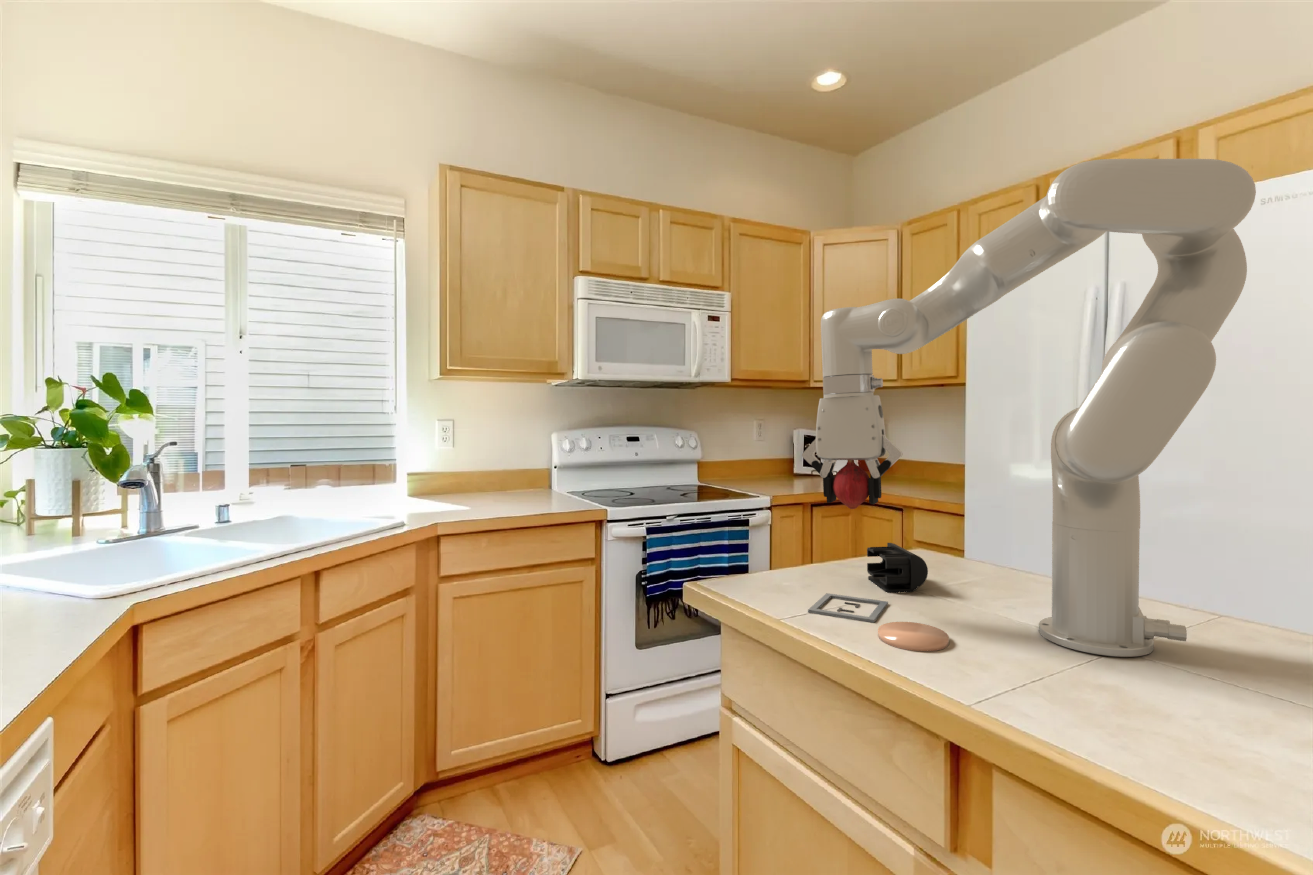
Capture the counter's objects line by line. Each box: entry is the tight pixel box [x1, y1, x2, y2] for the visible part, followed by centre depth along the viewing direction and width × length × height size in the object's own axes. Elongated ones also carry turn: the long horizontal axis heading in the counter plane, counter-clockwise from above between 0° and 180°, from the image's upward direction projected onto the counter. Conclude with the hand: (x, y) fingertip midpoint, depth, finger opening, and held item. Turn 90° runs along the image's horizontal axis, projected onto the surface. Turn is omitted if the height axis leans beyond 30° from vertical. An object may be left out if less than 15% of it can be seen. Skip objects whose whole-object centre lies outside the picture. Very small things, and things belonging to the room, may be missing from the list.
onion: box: [833, 460, 870, 510], centre depth 97 cm, size 6×6×8 cm
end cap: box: [866, 542, 929, 594], centre depth 110 cm, size 10×7×7 cm
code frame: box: [807, 592, 889, 623], centre depth 98 cm, size 10×10×1 cm
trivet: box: [877, 621, 950, 652], centre depth 84 cm, size 9×9×1 cm
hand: (852, 501), depth 97 cm, fingers closed on onion, 5 cm apart
